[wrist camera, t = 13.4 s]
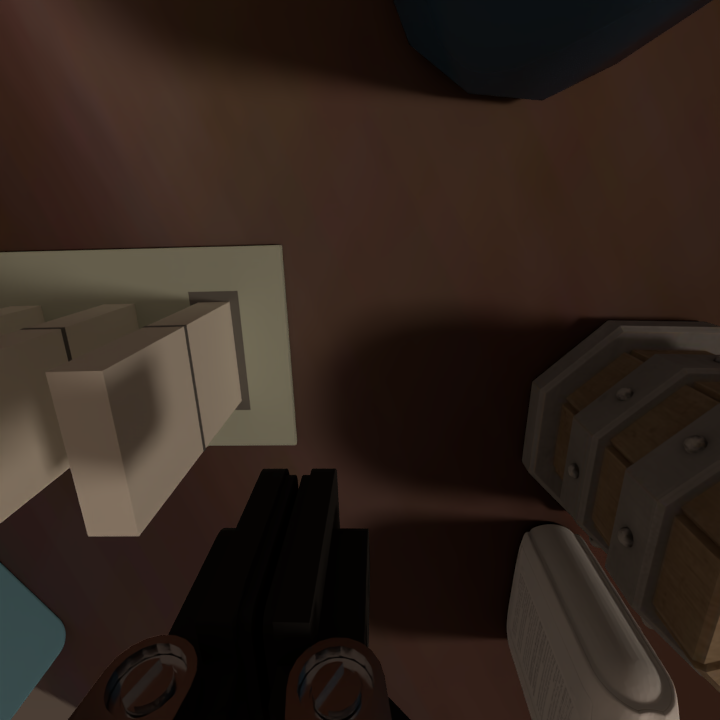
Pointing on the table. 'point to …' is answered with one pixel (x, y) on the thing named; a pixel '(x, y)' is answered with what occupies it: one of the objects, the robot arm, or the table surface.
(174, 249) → the domino mat
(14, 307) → the domino
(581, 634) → the photo printer
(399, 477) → the table surface
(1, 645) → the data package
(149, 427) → the domino
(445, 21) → the wine bottle
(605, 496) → the tankard
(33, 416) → the domino
